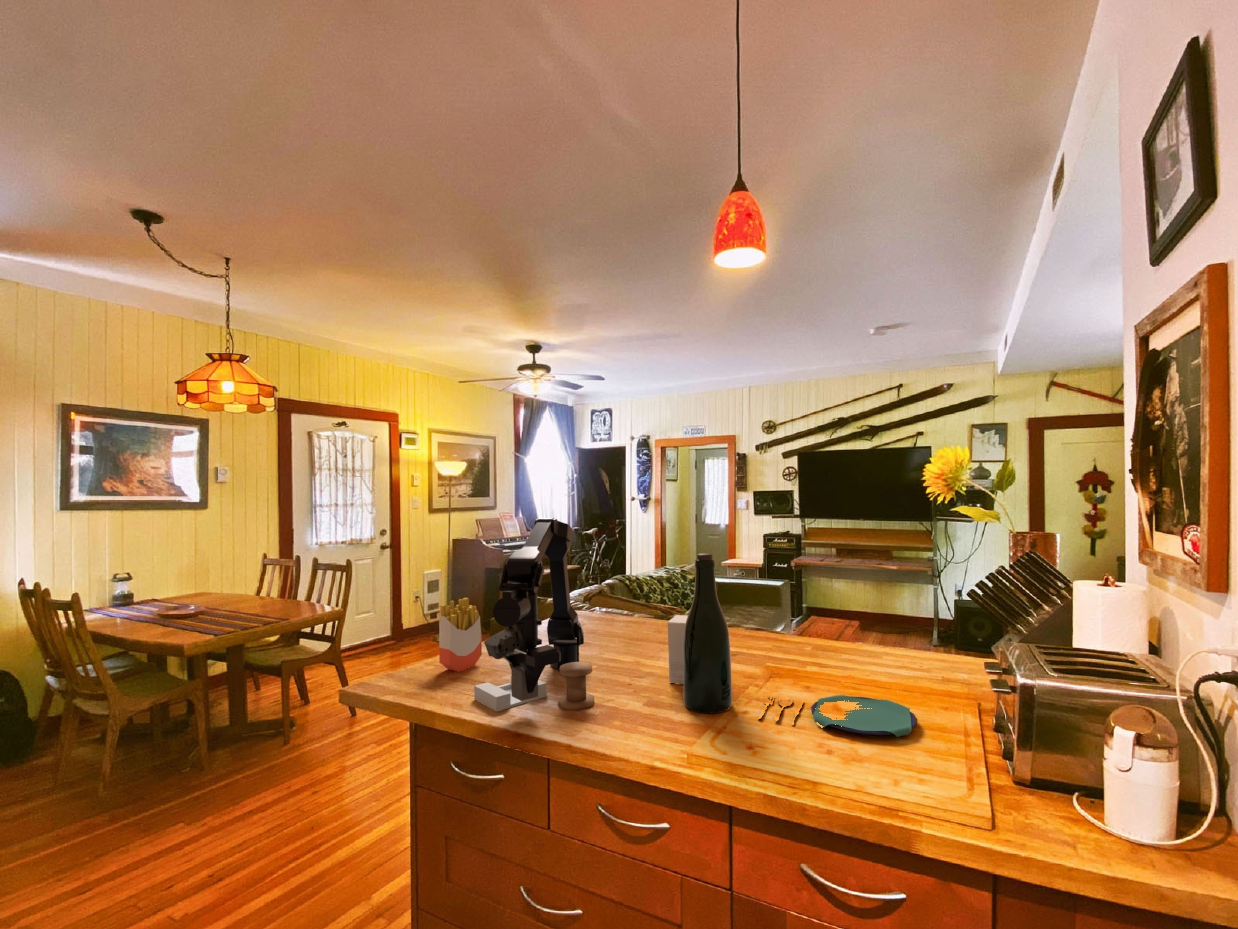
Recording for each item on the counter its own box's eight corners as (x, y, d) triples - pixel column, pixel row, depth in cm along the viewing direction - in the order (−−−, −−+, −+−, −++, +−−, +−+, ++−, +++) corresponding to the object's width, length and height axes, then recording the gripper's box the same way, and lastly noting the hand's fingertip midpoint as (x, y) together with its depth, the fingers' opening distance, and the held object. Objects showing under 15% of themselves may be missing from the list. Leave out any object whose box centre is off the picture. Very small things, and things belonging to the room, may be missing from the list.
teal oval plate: (920, 750, 104) (920, 737, 104) (752, 727, 116) (752, 715, 116) (915, 712, 122) (915, 700, 122) (770, 695, 134) (770, 685, 134)
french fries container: (482, 664, 159) (482, 598, 159) (450, 675, 150) (450, 605, 151) (471, 661, 161) (471, 596, 162) (439, 672, 153) (439, 603, 153)
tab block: (527, 691, 125) (527, 663, 125) (538, 696, 122) (537, 667, 122) (511, 696, 123) (511, 667, 123) (521, 701, 119) (521, 671, 120)
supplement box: (711, 675, 146) (710, 616, 147) (705, 687, 138) (703, 624, 138) (676, 672, 149) (675, 613, 150) (668, 684, 140) (666, 621, 141)
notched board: (523, 686, 141) (523, 673, 141) (546, 696, 133) (546, 683, 133) (474, 699, 132) (474, 685, 132) (496, 711, 125) (496, 697, 125)
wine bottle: (702, 718, 119) (698, 557, 120) (674, 702, 128) (671, 552, 130) (742, 709, 124) (738, 554, 125) (712, 694, 133) (709, 549, 135)
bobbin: (579, 694, 134) (579, 659, 135) (601, 703, 128) (601, 667, 129) (551, 703, 129) (550, 666, 129) (572, 713, 123) (572, 675, 123)
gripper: (468, 614, 125) (469, 688, 124) (514, 630, 111) (514, 712, 110) (513, 607, 132) (514, 676, 131) (561, 620, 118) (562, 698, 117)
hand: (524, 690), depth 122 cm, fingers closed on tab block, 4 cm apart
